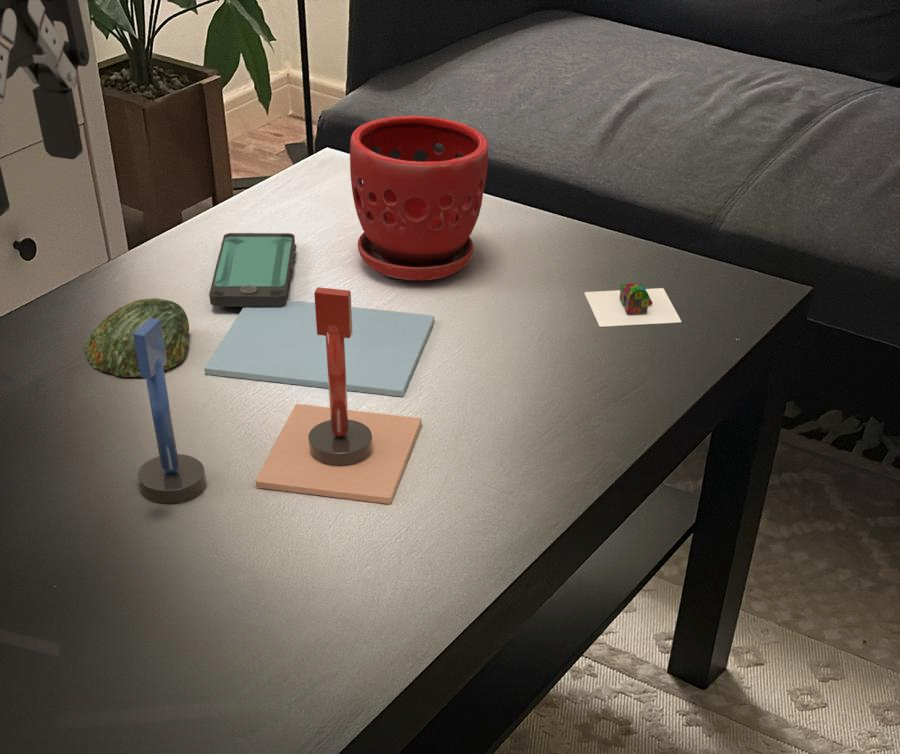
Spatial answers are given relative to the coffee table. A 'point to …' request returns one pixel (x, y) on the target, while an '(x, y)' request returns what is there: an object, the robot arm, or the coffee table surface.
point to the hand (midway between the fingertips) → (29, 183)
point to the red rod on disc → (337, 386)
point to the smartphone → (253, 269)
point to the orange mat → (358, 481)
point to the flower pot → (417, 194)
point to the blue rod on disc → (163, 428)
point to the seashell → (116, 342)
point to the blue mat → (322, 348)
